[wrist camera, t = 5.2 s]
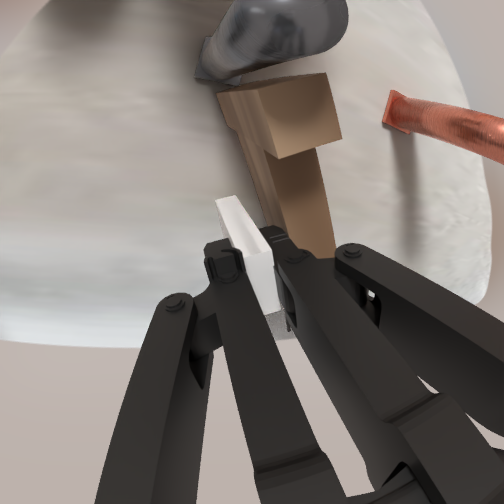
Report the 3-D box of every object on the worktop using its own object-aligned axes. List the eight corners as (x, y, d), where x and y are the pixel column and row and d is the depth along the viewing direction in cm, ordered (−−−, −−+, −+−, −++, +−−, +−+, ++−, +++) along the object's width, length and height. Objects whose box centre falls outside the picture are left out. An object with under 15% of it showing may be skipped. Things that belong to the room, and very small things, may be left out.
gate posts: (194, 77, 16) (221, 39, 5) (209, 23, 15) (265, -80, 4) (403, 144, 21) (536, 205, 10) (415, 103, 20) (553, 143, 9)
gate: (273, 263, 24) (331, 371, 14) (215, 93, 17) (259, 89, 7) (299, 252, 24) (369, 353, 14) (248, 82, 17) (329, 72, 8)
